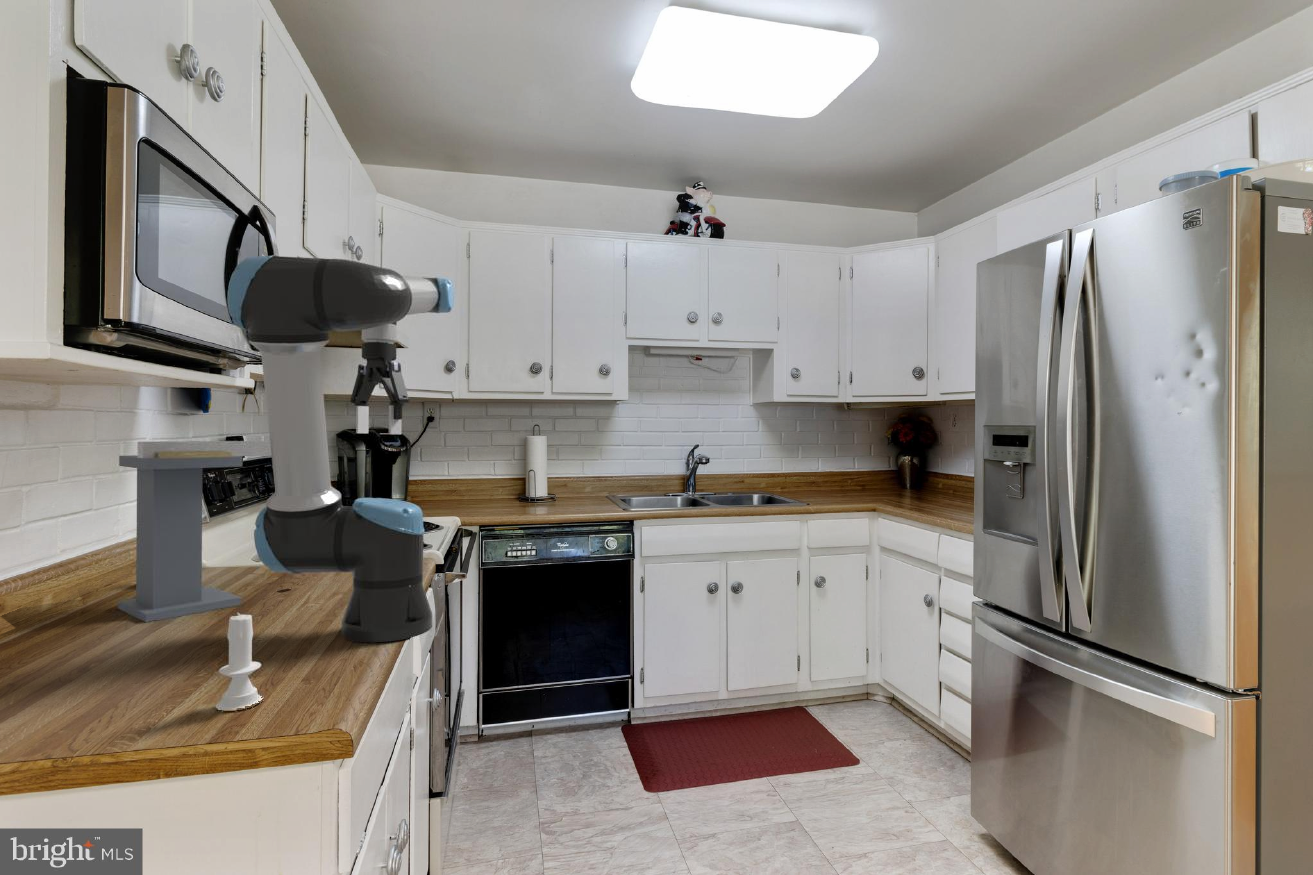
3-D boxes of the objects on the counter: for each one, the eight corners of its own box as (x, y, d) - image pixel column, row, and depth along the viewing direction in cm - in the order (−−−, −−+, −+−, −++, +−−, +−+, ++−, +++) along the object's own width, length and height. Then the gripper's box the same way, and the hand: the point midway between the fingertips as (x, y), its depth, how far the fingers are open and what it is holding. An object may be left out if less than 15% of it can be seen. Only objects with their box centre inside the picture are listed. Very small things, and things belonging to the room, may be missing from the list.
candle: (208, 714, 84) (209, 619, 84) (225, 697, 89) (226, 608, 89) (255, 710, 85) (256, 617, 85) (269, 694, 91) (270, 606, 90)
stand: (210, 593, 144) (211, 454, 144) (241, 604, 135) (242, 456, 135) (118, 608, 131) (119, 455, 131) (145, 622, 122) (146, 458, 122)
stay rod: (282, 454, 146) (282, 440, 146) (288, 455, 144) (289, 441, 144) (137, 457, 125) (137, 441, 125) (143, 458, 123) (143, 441, 123)
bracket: (216, 455, 137) (216, 450, 137) (231, 456, 133) (231, 451, 133) (146, 456, 128) (146, 451, 128) (159, 458, 123) (159, 452, 123)
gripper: (425, 341, 152) (424, 434, 152) (364, 347, 166) (364, 432, 167) (395, 337, 146) (394, 434, 146) (335, 344, 160) (334, 432, 161)
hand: (378, 433), depth 156 cm, fingers open, 13 cm apart
